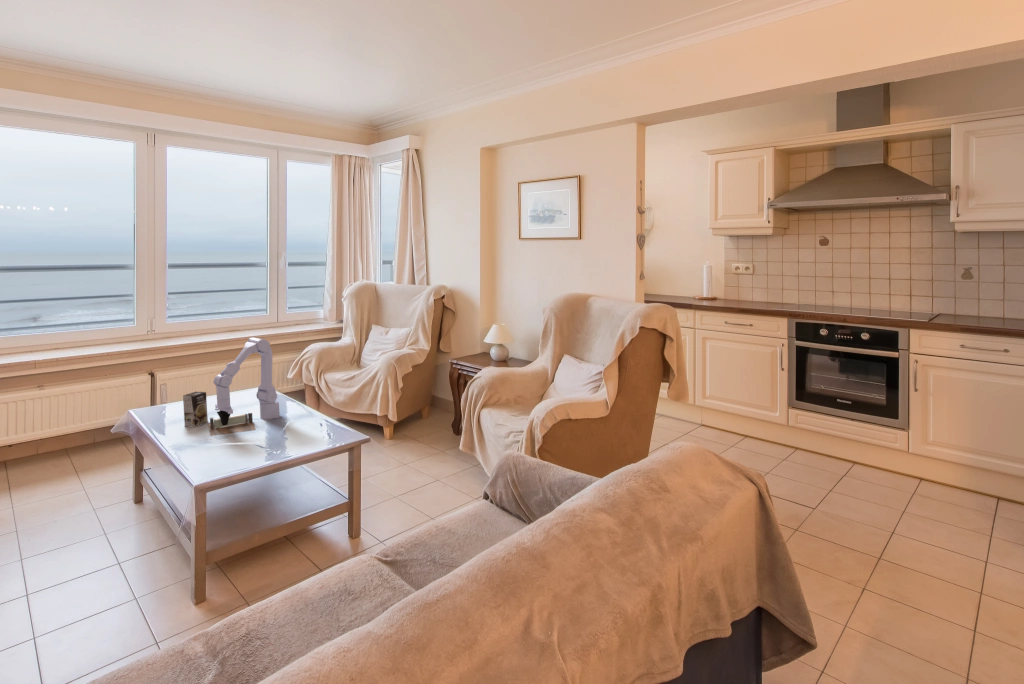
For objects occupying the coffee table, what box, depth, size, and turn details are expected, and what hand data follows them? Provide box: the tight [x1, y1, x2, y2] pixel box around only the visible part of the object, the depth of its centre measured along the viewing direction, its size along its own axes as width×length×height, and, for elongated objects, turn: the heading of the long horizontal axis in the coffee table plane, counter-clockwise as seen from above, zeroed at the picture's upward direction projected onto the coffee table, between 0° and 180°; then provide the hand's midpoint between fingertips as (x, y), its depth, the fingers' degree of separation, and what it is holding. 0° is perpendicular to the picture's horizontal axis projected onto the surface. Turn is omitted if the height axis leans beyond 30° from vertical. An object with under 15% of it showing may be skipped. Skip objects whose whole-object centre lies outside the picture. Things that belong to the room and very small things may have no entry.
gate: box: [214, 413, 248, 428], centre depth 282 cm, size 15×2×4 cm, turn 134°
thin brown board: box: [207, 412, 257, 437], centre depth 280 cm, size 20×22×6 cm
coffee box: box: [182, 391, 209, 428], centre depth 283 cm, size 9×6×16 cm
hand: (225, 425), depth 277 cm, fingers closed
